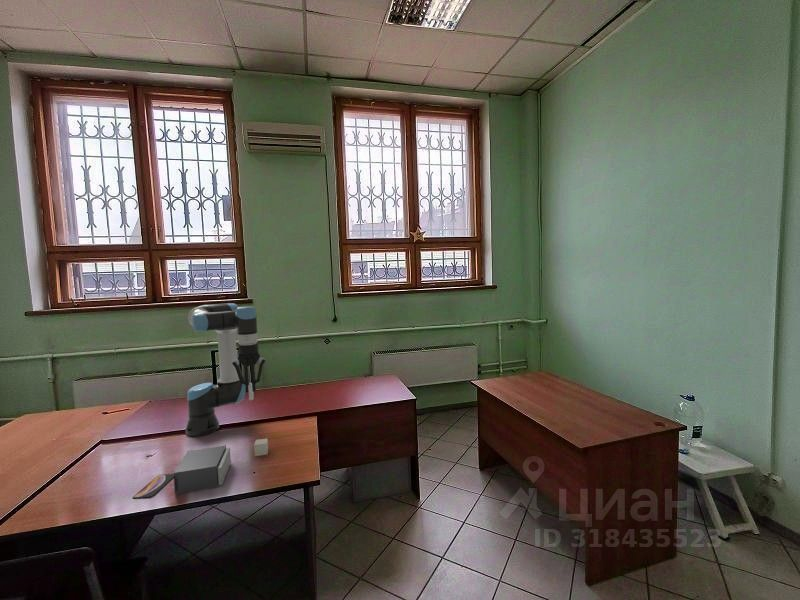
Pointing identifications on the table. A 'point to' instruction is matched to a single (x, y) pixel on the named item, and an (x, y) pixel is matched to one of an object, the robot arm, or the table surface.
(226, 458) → the tray
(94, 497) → the table surface
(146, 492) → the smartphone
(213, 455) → the housing
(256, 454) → the pedestal
